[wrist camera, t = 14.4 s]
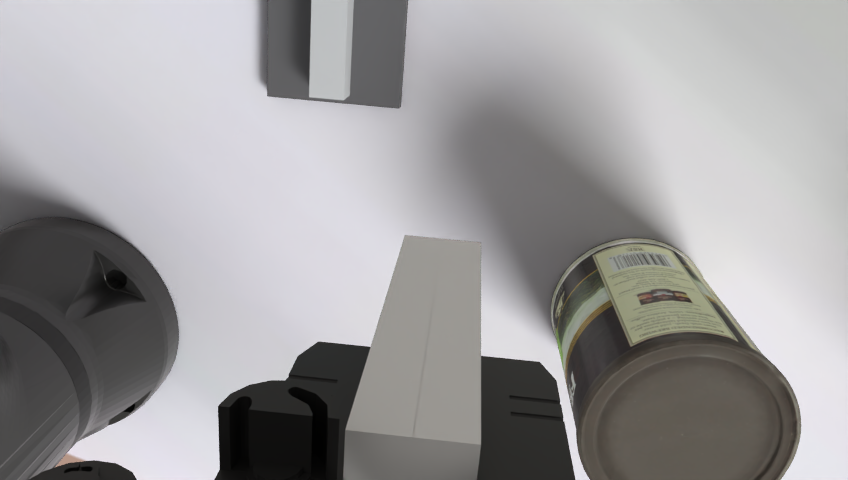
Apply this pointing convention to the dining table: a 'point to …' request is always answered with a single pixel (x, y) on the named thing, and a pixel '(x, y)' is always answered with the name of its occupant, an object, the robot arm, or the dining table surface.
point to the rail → (367, 51)
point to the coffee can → (666, 372)
